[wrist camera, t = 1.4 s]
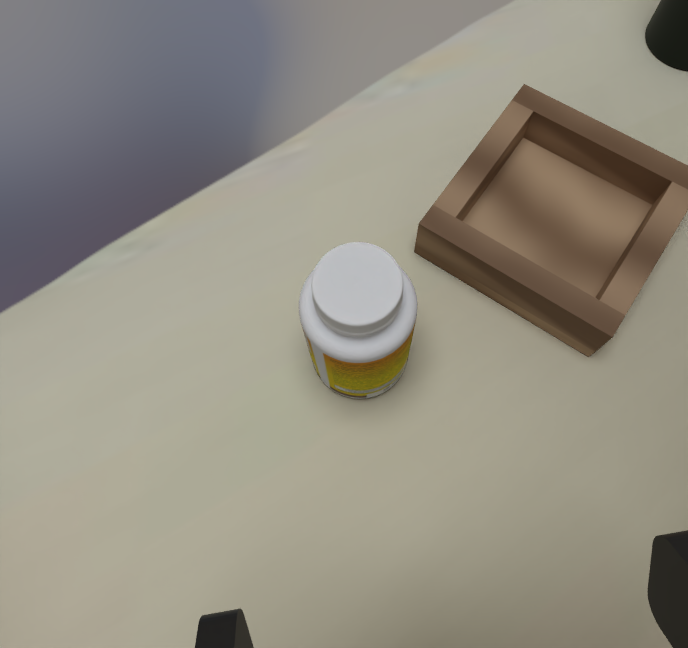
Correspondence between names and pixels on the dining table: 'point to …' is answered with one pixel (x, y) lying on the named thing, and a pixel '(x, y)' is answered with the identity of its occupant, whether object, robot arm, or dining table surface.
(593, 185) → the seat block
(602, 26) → the dining table surface
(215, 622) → the robot arm
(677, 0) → the wine bottle
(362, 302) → the supplement bottle
